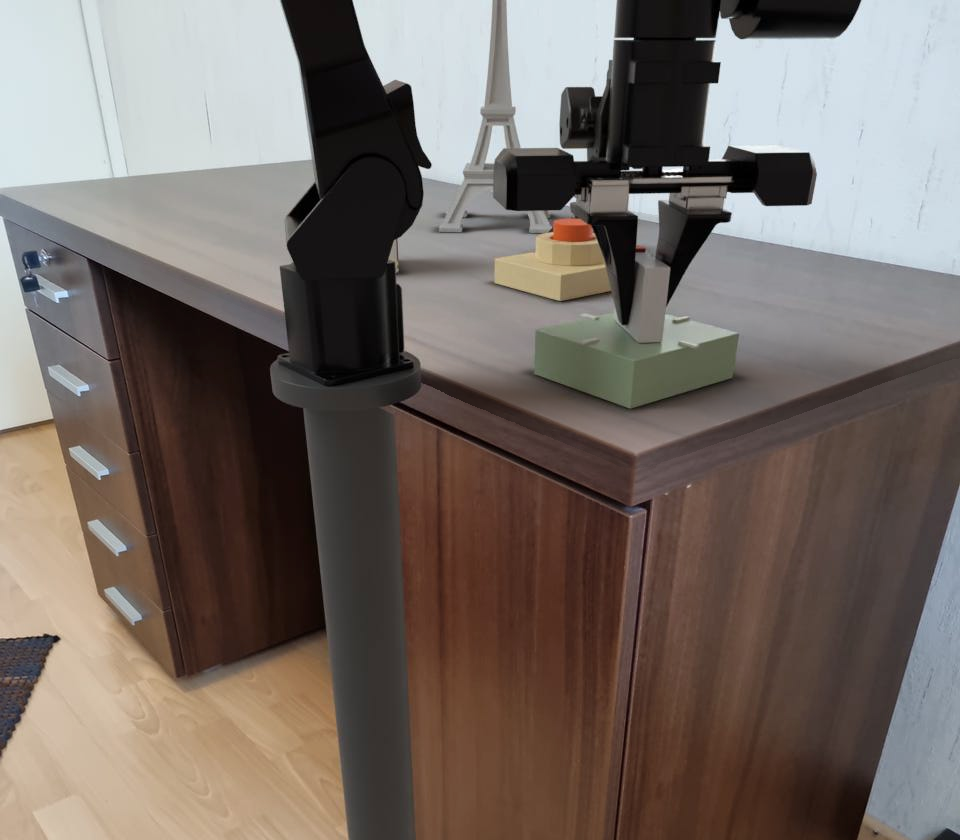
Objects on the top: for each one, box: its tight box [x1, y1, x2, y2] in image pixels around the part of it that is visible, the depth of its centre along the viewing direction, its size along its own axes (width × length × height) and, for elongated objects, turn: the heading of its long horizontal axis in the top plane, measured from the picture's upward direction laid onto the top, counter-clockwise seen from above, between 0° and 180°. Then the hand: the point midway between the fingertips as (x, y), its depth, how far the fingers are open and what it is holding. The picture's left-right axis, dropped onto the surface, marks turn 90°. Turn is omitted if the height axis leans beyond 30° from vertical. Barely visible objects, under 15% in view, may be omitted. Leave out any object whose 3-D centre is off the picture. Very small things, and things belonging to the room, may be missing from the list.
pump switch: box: [494, 232, 611, 302], centre depth 85 cm, size 11×9×4 cm
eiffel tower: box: [438, 0, 553, 234], centre depth 105 cm, size 13×13×30 cm
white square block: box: [613, 244, 670, 343], centre depth 59 cm, size 6×2×5 cm, turn 8°
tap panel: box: [533, 311, 740, 410], centre depth 62 cm, size 10×10×3 cm
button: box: [552, 218, 593, 242], centre depth 83 cm, size 4×4×2 cm
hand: (638, 323), depth 60 cm, fingers closed on white square block, 2 cm apart
